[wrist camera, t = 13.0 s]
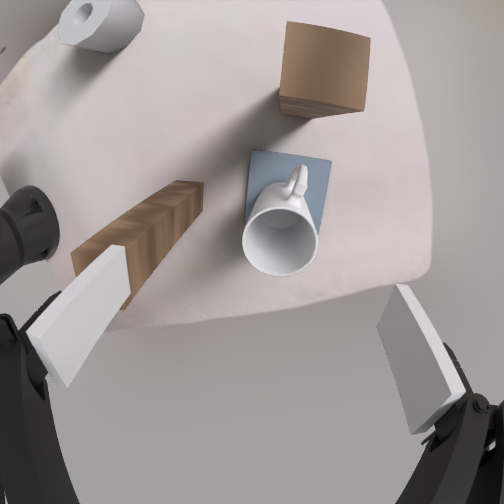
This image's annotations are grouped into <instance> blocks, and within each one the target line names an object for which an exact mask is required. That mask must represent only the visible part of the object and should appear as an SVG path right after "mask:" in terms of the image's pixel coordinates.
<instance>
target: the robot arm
mask: <svg viewBox="0 0 504 504" xmlns="http://www.w3.org/2000/svg"><path fill="white" fill-rule="evenodd" d="M58 243H59V225H58V220H57V217H56V214H55V211H54V208H53V206H52V204H51V202H50V201H49V199H48V198H47V196H46V195H45V194H44V193H43V192H42V191H41V190H40V189H39V188H37V187H35V186H26V187H24V188H21V189H19V190H18V191H16V192H15V193H14V194H13V195H12V196H11V197H10V198H9V200H8V201H7V202H6V203H5V204H4V205H3V206H2V207H1V208H0V285H1V284H2V283H3V282H4V281H5V280H6V279H8V278H9V277H10V276H11V275H12V274H13V273H14V272H16V271H17V270H18V269H19V268H21V267H22V266H23V265H26V264H30V263H34V262H37V261H42V260H44V259H46V258H48V257H49V256H50V255H52V254H53V253H54V252H55V250H56V249H57V246H58ZM130 294H131V291H130V284H129V277H128V270H127V263H126V254H125V246H118V245H111V246H110V247H108V248H107V249H106V250H105V251H104V252H103V253H102V254H101V255H100V256H99V257H97V258H96V259H95V260H94V261H93V262H92V263H91V264H90V265H89V266H88V267H87V268H86V269H85V270H84V271H83V272H82V273H81V274H80V275H79V276H77V277H76V278H75V279H74V280H73V281H72V282H71V283H70V284H69V285H68V286H67V287H66V288H65V289H64V291H59V292H57V293H55V294H53V295H52V296H50V297H49V298H48V299H47V300H46V301H45V302H44V304H43V305H42V306H41V307H40V308H39V309H38V311H36V312H35V313H34V314H33V315H32V316H31V318H30V319H29V320H28V321H27V322H26V323H25V324H24V325H23V326H22V328H21V329H20V330H19V331H18V329H17V327H16V325H15V323H14V321H13V319H12V317H11V316H10V315H8V314H6V313H5V314H0V504H5V495H6V498H7V502H8V504H80V503H79V501H78V498H77V496H76V494H75V491H74V488H73V486H72V483H71V480H70V478H69V475H68V472H67V469H66V466H65V463H64V460H63V456H62V453H61V449H60V446H59V442H58V438H57V434H56V430H55V425H54V420H53V415H52V411H51V406H50V399H49V392H48V385H47V381H46V379H45V376H46V375H47V373H49V375H50V376H51V378H52V380H53V381H54V382H55V383H57V384H59V385H61V386H63V387H65V388H68V387H69V385H70V384H71V382H72V380H73V379H74V377H75V375H76V374H77V372H78V370H79V369H80V367H81V366H82V364H83V362H84V361H85V359H86V358H87V356H88V355H89V353H90V352H91V350H92V348H93V347H94V345H95V344H96V342H97V341H98V339H99V338H100V336H101V335H102V333H103V332H104V330H105V329H106V327H107V326H108V325H109V323H110V322H111V320H112V319H113V317H114V316H115V314H116V313H117V312H118V310H119V309H120V307H121V306H122V305H123V303H124V302H125V300H126V299H127V298H128V296H129V295H130ZM376 327H377V330H378V333H379V335H380V338H381V341H382V343H383V346H384V349H385V351H386V354H387V357H388V360H389V363H390V366H391V369H392V372H393V375H394V378H395V381H396V385H397V387H398V391H399V394H400V398H401V401H402V404H403V408H404V411H405V415H406V418H407V422H408V426H409V430H410V434H411V435H413V434H418V433H423V432H426V431H427V430H428V429H429V428H430V427H432V426H433V425H434V426H435V429H436V430H435V431H434V432H433V433H432V434H431V435H429V436H428V437H427V438H426V439H425V440H424V441H423V442H422V443H421V444H422V445H423V444H424V443H426V442H427V441H428V440H429V442H428V444H427V445H426V448H425V450H424V453H423V454H422V457H421V459H420V461H419V463H418V465H417V467H416V469H415V471H414V473H413V474H412V476H411V478H410V480H409V482H408V483H407V485H406V487H405V489H404V490H403V492H402V494H401V495H400V497H399V499H398V500H397V502H396V503H395V504H504V400H503V402H502V403H501V404H500V405H499V406H496V405H490V404H489V402H488V400H487V399H486V398H485V397H484V396H483V395H481V394H477V393H475V394H474V393H473V391H472V389H471V387H470V385H469V383H468V381H467V378H466V376H465V374H464V372H463V370H462V368H460V364H459V362H458V361H457V359H456V357H455V355H454V353H453V351H452V350H451V349H450V348H449V347H448V346H447V345H446V343H442V342H441V340H440V338H439V336H438V334H437V333H436V331H435V329H434V327H433V325H432V324H431V322H430V320H429V319H428V317H427V315H426V314H425V312H424V310H423V309H422V307H421V305H420V304H419V302H418V301H417V299H416V297H415V296H414V294H413V293H412V291H411V289H410V288H409V286H408V285H401V284H395V286H394V289H393V291H392V294H391V296H390V298H389V300H388V303H387V305H386V307H385V309H384V312H383V314H382V316H381V318H380V320H379V322H378V324H377V326H376ZM495 440H496V441H495ZM494 441H495V443H496V445H495V447H494V448H493V449H492V450H489V445H490V444H492V443H493V442H494ZM4 491H5V494H4Z"/></svg>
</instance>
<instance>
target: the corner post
mask: <svg viewBox="0 0 504 504" xmlns="http://www.w3.org/2000/svg"><path fill="white" fill-rule="evenodd" d="M203 186H204V183H202V182H190V181H177V180H176V181H174V182H172V183H171V184H169V185H167V186H166V187H164V188H163V189H161V190H159V191H158V192H156V193H155V194H153V195H151V196H150V197H148V198H147V199H145V200H144V201H142V202H141V203H139V204H138V205H136V206H135V207H133V208H132V209H130V210H129V211H127V212H126V213H124V214H123V215H121V216H120V217H118V218H117V219H116V220H114V221H113V222H111V223H110V224H109V225H107V226H106V227H104V228H103V229H102V230H100V231H99V232H98V233H96V234H95V235H93V236H92V237H91V238H89V239H88V240H87V241H86V242H84V243H83V244H82V245H80V246H79V247H78V248H76V249H75V250H74V251H73V252H71V258H72V262H73V267H74V271H75V275H76V277H77V276H79V275H80V274H81V273H82V272H83V271H84V270H85V269H86V268H87V267H88V266H89V265H90V264H91V263H92V262H93V261H94V260H95V259H96V258H97V257H99V256H100V255H101V254H102V253H103V252H104V251H105V250H106V249H107V248H108V247H110V246H111V245H118V246H125V254H126V263H127V270H128V277H129V284H130V291H131V294H130V295H129V296H128V298H127V299H126V300H125V302H124V303H123V305H122V306H121V307H120V309H119V310H123V311H124V310H125V309H126V307H127V306H128V305H129V303H130V302H131V300H132V299H133V298H134V296H135V295H136V294H137V292H138V291H139V290H140V288H141V287H142V286H143V284H144V283H145V282H146V280H147V279H148V278H149V276H150V275H151V274H152V272H153V271H154V270H155V269H156V267H157V266H158V265H159V263H160V262H161V261H162V260H163V258H164V257H165V256H166V255H167V253H168V252H169V251H170V249H171V248H172V247H173V246H174V245H175V243H176V242H177V241H178V240H179V238H180V237H181V236H182V235H183V233H184V232H185V231H186V230H187V229H188V227H189V226H190V225H191V224H192V223H193V221H194V220H195V219H196V218H197V217H198V215H199V214H200V213H201V212H202V210H203Z"/></svg>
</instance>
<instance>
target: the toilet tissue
mask: <svg viewBox="0 0 504 504" xmlns="http://www.w3.org/2000/svg"><path fill="white" fill-rule="evenodd" d="M144 15H145V14H144V12H143V11H142V9H141V7H140V6H139V4H138V3H137V1H136V0H72V1H71V2H70V3H69V5H68V6H67V7H66V9H65V10H64V11H63V12H62V14H61V18H60V21H59V25H58V28H57V34H58V36H59V39H60V42H61V44H65V45H71V46H76V47H81V48H86V49H90V50H94V51H99V52H104V53H109V54H112V53H114V52H116V51H118V50H120V49H122V48H124V47H127V46H128V45H129V44H130V42H131V41H132V40H133V39H134V38H135V36H136V35H137V34H138V33H139V32H140V31H141V27H142V23H143V19H144Z"/></svg>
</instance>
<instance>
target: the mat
mask: <svg viewBox="0 0 504 504" xmlns="http://www.w3.org/2000/svg"><path fill="white" fill-rule="evenodd" d="M331 163H332V162H331V161H329V160H323V159H317V158H311V157H305V156H299V155H292V154H285V153H277V152H269V151H261V150H251V159H250V169H249V180H248V190H247V200H246V211H245V221H244V225H246V223H247V221H248V219H249V216H250V214H251V212H252V210H253V208H254V205H255V203H256V201H257V199H258V197H259V195H260V193H261V192H262V191H263V189H264V188H266V187H267V186H269V185H271V184H273V183H278V182H284V183H287V182H288V179H289V177H290V174H291V172H292V171H293V170H294V169H295V168H296V167H297V166H299V165H301V164H302V165H305V166H306V167H307V170H308V177H307V189H306V191H305V193H304V195H303V197H304V199H305V201H306V204H307V206H308V209H309V212H310V215H311V217H312V220H313V223H314V226H315V229H316V232H317V235H318V233H319V229H320V224H321V219H322V214H323V208H324V203H325V198H326V192H327V187H328V181H329V175H330V169H331Z"/></svg>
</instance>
